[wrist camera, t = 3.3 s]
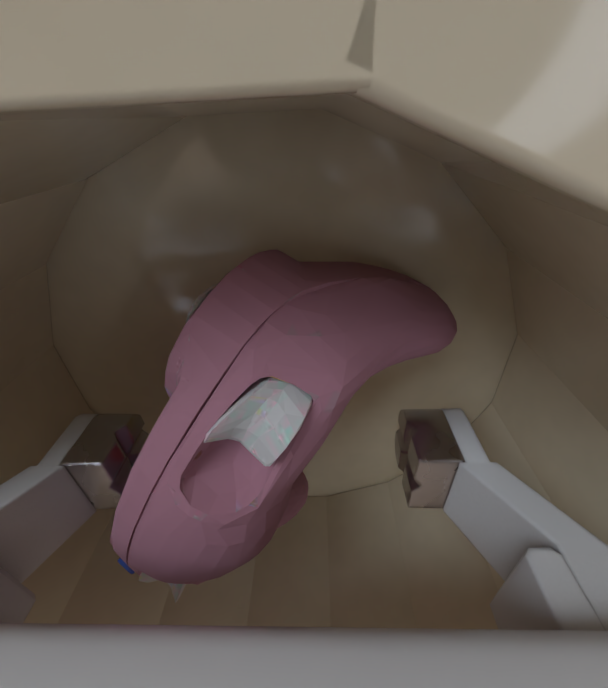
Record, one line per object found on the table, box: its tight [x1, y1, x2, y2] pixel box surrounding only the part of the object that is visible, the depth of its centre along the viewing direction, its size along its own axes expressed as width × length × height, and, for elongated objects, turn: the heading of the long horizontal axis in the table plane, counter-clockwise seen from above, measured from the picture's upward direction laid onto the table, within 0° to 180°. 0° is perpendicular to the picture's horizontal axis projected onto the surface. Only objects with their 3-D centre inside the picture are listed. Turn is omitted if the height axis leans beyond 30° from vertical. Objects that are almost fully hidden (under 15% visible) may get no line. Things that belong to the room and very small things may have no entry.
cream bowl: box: [0, 0, 608, 629], centre depth 8 cm, size 16×16×7 cm
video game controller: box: [110, 250, 457, 603], centre depth 9 cm, size 10×5×7 cm, turn 154°
